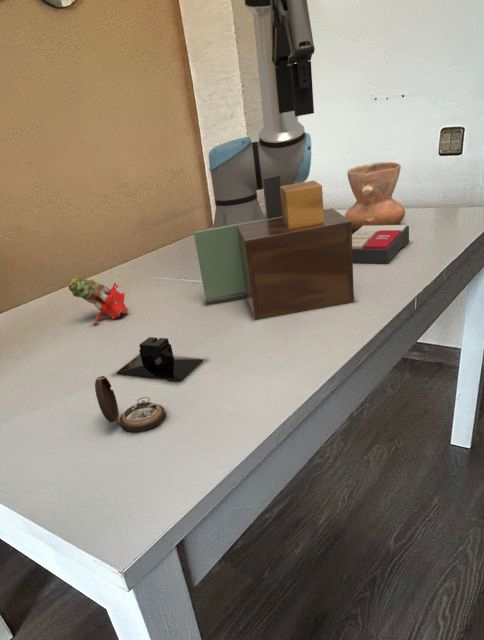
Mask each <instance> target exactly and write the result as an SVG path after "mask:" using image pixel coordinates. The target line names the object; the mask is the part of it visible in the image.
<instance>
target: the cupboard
mask: <svg viewBox="0 0 484 640" xmlns="http://www.w3.org/2000/svg"><path fill="white" fill-rule="evenodd" d="M323 212H324V223H322V224H317V225H311V226H305V227H300V228H294V229H289V228H288V227H287V226H286V225H285V224H284V223H283V218H277V219H272V220H266V221H260V222H255V223H249V224H244V225H238V226H237V230H238V237H239V244H240V252H241V259H242V266H243V274H244V281H245V288H246V292H242V293H236V294H231V295H225V296H220V297H214V298H209V299H205V302H206V305H207V306H210V305H216V304H221V303H226V302H232V301H238V300H242V299H246V300H247V302H248V305H249V307H250V310H251V313H252V315H253V319H254V320H255V321H256V320H261V319H266V318H272V317H277V316H283V315H289V314H295V313H298V312H299V313H300V312H304V311H305V312H306V311H311V310H317V309H322V308H328V307H332V306H338V305H339V306H340V305H345V304H350V303H354V302H355V293H354V291H355V290H354V289H355V288H354V263H353V257H352V234H353V230H352V225H351V221H350V220H349V219H347V218H346V217H345V215H343V214H342V213H340V212H339V211H338V210H336V209H334V208H333V207H331V208H327V209H323Z"/></svg>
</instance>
